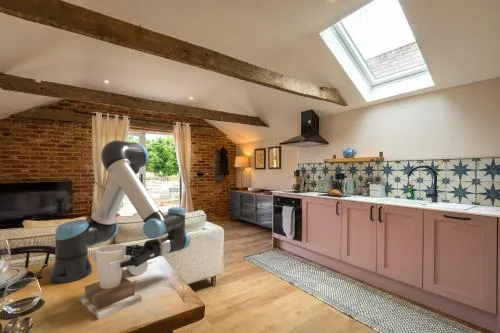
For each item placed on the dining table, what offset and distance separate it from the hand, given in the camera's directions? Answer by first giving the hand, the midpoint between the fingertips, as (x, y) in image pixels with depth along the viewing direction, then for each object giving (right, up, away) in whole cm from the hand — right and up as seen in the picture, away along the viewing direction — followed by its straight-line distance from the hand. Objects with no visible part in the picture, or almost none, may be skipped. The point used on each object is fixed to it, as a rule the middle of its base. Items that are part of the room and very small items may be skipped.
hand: (100, 262), depth 84 cm
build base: (+2, -15, +2) cm, 15 cm away
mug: (+1, -15, +29) cm, 32 cm away
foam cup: (+2, -9, +3) cm, 10 cm away
